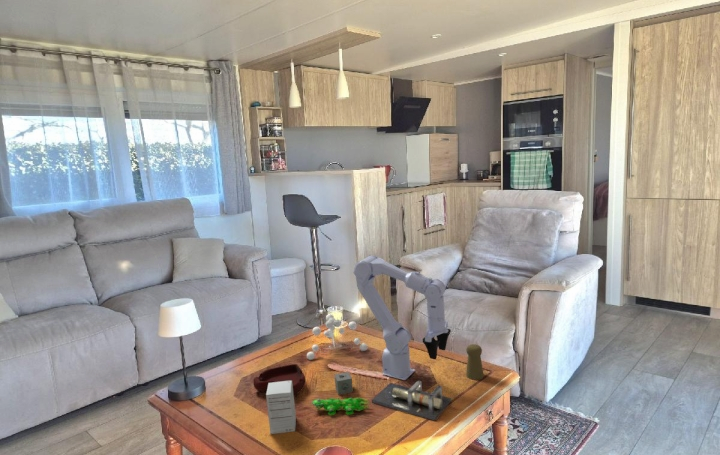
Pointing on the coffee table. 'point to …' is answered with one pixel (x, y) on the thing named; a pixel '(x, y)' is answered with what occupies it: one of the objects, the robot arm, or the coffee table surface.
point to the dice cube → (343, 383)
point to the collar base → (409, 406)
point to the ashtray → (281, 377)
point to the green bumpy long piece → (341, 405)
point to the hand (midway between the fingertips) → (437, 354)
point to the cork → (474, 362)
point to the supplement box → (281, 407)
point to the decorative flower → (332, 324)
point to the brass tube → (416, 397)
